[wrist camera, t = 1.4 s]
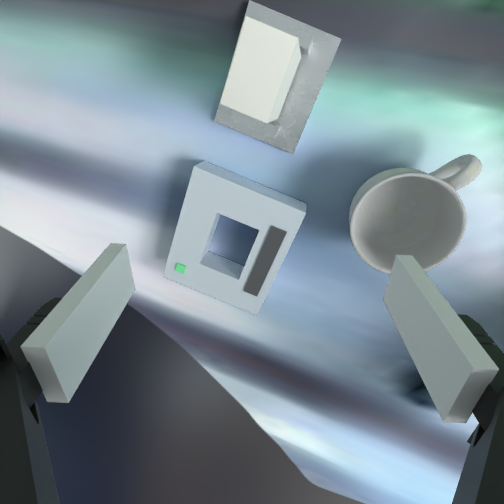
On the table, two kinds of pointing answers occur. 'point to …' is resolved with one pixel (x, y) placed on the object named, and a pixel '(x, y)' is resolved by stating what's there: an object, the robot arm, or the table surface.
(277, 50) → the plug
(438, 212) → the teacup
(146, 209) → the table surface
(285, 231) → the switch box
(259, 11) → the holster
